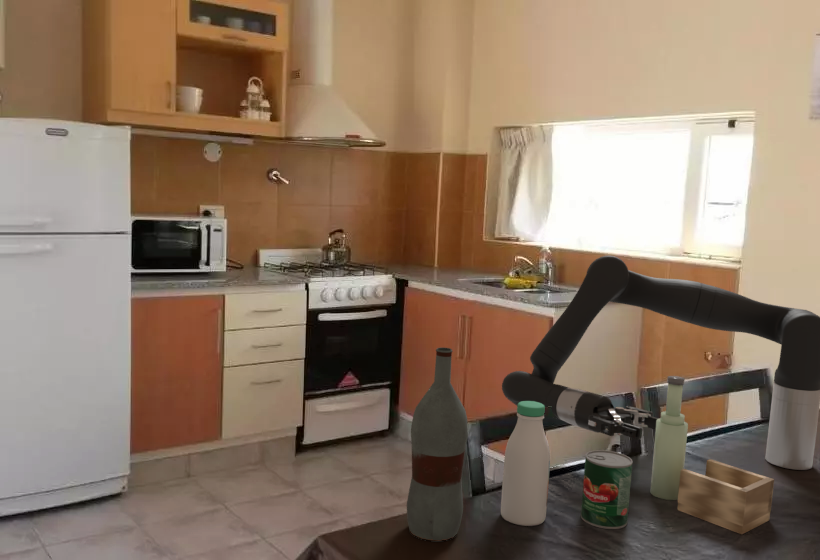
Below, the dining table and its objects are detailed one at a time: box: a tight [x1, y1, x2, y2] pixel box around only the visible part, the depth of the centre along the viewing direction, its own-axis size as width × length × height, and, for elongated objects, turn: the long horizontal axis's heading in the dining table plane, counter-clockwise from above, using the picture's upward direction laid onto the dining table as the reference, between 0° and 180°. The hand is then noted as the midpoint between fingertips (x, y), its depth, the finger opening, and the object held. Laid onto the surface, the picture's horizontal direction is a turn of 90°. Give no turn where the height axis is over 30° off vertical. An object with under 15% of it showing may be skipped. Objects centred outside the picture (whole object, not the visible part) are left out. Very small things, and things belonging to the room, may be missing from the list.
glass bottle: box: [650, 375, 689, 501], centre depth 147 cm, size 6×6×22 cm
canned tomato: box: [580, 449, 633, 530], centre depth 135 cm, size 8×8×11 cm
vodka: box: [406, 347, 469, 540], centre depth 125 cm, size 9×9×30 cm
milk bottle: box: [500, 401, 551, 527], centre depth 133 cm, size 8×8×20 cm
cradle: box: [677, 458, 775, 535], centre depth 139 cm, size 12×10×8 cm
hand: (653, 430), depth 150 cm, fingers open, 8 cm apart
